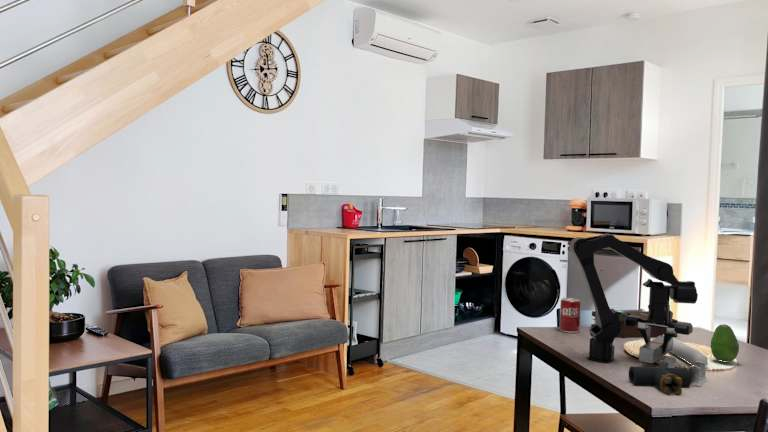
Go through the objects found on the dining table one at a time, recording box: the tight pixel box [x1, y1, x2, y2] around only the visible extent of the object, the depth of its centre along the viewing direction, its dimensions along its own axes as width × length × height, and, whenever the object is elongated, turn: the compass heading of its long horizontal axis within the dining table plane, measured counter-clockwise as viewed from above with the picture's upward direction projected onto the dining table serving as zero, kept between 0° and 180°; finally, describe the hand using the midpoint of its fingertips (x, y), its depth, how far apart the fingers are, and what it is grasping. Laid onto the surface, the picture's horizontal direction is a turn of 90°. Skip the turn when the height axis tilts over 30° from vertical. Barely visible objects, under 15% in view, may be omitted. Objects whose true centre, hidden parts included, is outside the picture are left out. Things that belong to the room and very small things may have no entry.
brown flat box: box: [590, 310, 679, 339], centre depth 236 cm, size 19×8×30 cm
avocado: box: [710, 324, 740, 362], centre depth 196 cm, size 8×8×12 cm
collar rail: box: [658, 355, 707, 387], centre depth 176 cm, size 11×8×5 cm
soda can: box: [559, 297, 582, 334], centre depth 234 cm, size 7×7×12 cm
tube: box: [663, 334, 709, 367], centre depth 199 cm, size 5×5×25 cm
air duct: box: [638, 335, 673, 364], centre depth 193 cm, size 22×4×4 cm, turn 141°
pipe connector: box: [628, 365, 691, 395], centre depth 168 cm, size 12×5×15 cm
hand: (656, 351), depth 193 cm, fingers closed on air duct, 4 cm apart
